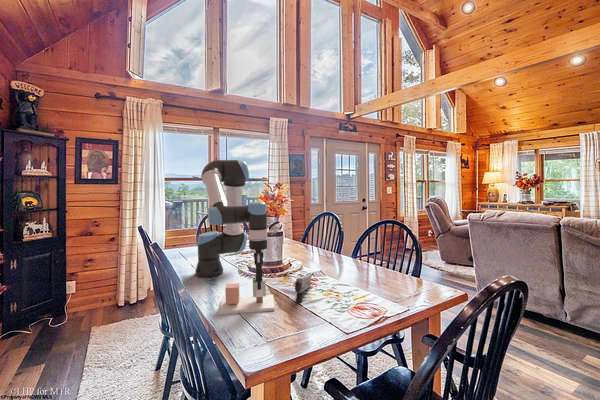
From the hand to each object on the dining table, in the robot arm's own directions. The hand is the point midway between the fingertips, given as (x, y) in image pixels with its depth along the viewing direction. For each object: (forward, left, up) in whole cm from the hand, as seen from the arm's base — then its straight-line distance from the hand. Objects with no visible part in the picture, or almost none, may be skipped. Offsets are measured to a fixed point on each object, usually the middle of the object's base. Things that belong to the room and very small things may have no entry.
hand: (259, 293), depth 126 cm
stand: (0, -5, -5) cm, 7 cm away
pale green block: (0, 0, 0) cm, 0 cm away
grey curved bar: (-8, +20, -5) cm, 22 cm away
